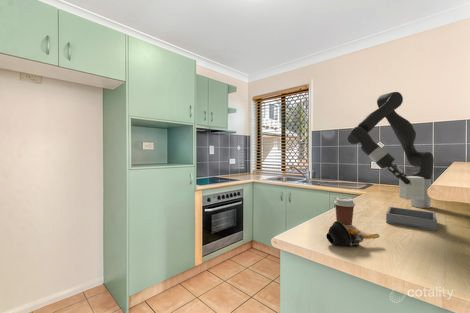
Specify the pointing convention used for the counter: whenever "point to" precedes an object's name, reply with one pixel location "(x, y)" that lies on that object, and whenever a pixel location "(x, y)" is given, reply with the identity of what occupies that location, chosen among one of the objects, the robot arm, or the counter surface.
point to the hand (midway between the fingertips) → (409, 182)
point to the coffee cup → (344, 211)
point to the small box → (412, 188)
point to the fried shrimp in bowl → (346, 235)
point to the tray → (412, 218)
